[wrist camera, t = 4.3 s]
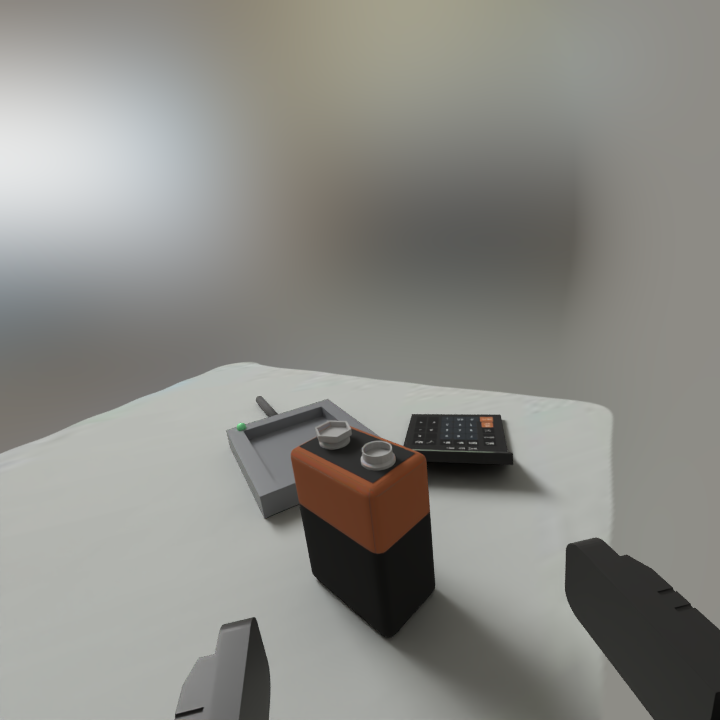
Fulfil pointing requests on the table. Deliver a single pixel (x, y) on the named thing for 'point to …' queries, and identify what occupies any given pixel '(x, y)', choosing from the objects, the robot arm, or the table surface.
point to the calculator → (458, 438)
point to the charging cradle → (279, 449)
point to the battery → (366, 521)
